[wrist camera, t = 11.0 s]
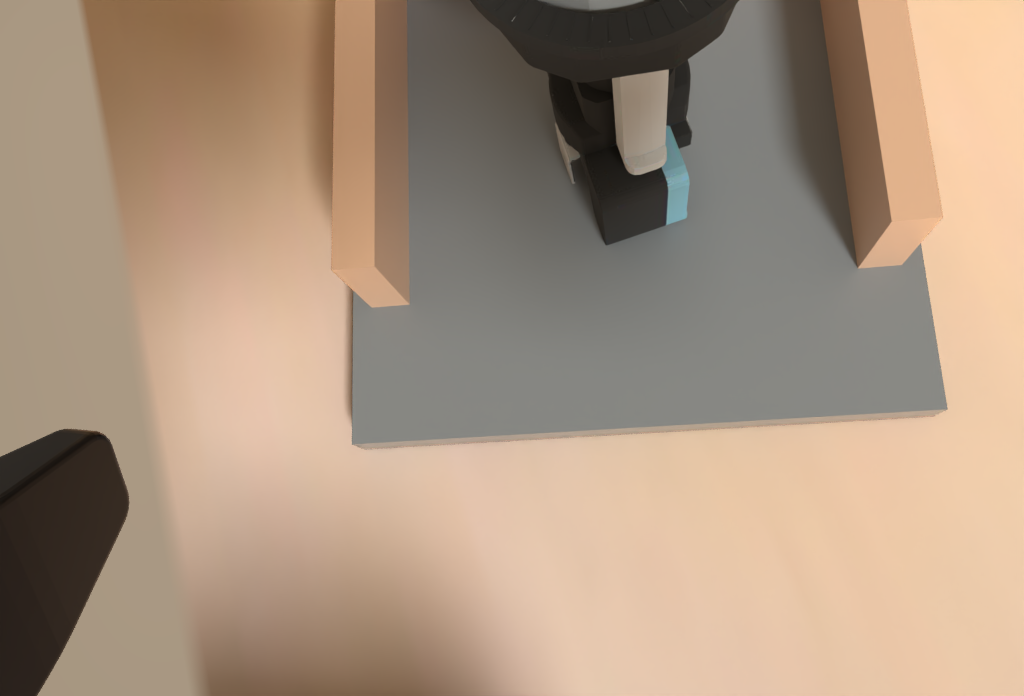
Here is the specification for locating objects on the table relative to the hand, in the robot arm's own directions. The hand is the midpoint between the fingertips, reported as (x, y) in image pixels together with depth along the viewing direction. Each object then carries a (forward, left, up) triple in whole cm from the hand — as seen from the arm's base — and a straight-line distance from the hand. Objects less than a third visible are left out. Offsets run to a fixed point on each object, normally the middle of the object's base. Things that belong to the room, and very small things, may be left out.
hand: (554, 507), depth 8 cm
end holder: (+11, -1, -14) cm, 17 cm away
